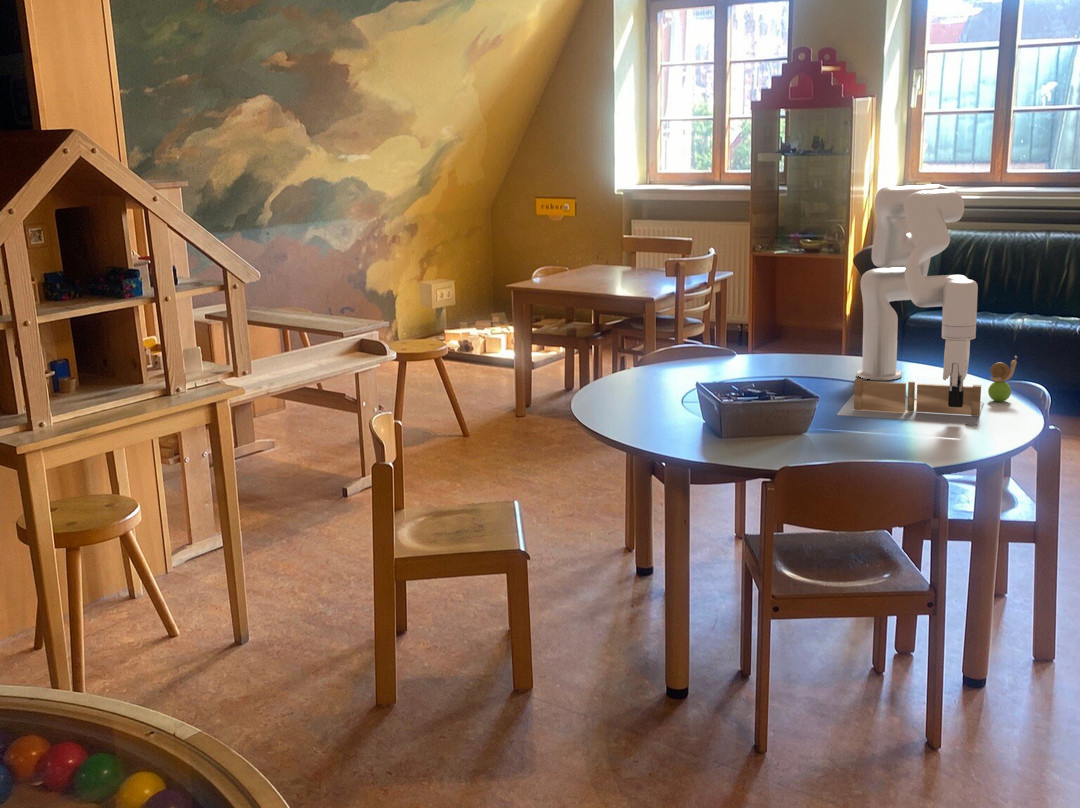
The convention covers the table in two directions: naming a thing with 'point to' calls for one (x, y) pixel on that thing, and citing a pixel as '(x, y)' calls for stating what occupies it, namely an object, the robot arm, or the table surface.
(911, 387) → the hinged fence panel
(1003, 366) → the snail figurine
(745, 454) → the table surface
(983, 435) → the table surface
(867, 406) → the fixed fence section
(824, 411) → the table surface
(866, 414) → the card
